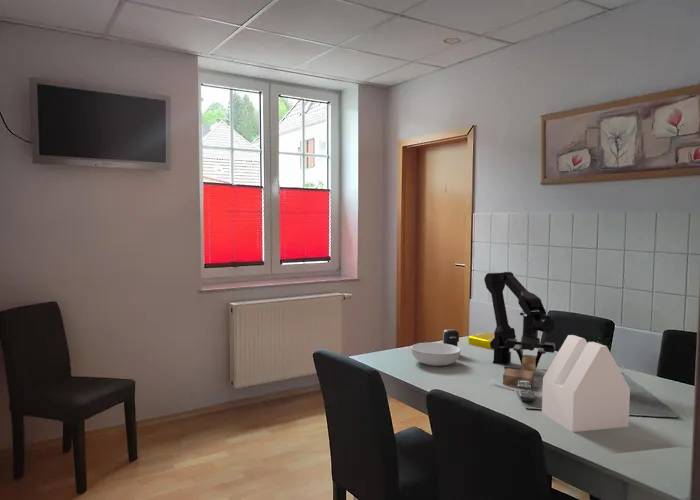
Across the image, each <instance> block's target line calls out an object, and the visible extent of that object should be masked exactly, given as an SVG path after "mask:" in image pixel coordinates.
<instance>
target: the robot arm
mask: <svg viewBox="0 0 700 500" xmlns="http://www.w3.org/2000/svg"><path fill="white" fill-rule="evenodd" d="M483 279H484V284H485V288H486V289H487V291H488V292H489V293H490V295H491V296H490V297H491V300H492V306H493V312H494V318H495V323H496V327H495V330H494V332H493V334H494V339H493V340H492V341H491V342H490V347H491V348H493V349H492V350H493V360H492V363H493V364H499V365H509V364H510V363H511V362H512V351H510V350H512V349H513V351H515V352H516V353H517V355H518V358H519V362H520V365H521V366H522V357H523V355H524V351H525V350H528V351H530V352H531V351H534V350H535V349H537V351H536V353H537V354H536V356H537V359H536V367H538V365H539V362H540V360H541V357H542V355H543V354H546V353H551V354H552V353H553V354H554V353H555V351H556V343H555V342H548V341H545V342H544V343H541V340H540V339H541V338H540V337H539V336H538V335H539V332H542V333H545V334H550V333H552V332H553V330H555V323H554V320H553V319H552V318H551V315H549V314H547V311H546V309H545V307H544V304H543V302H542V299H541V298H540V297H539V296H538V295H537V294H535V293H533V292H530V291H529V290H527V288H525V287H524V285H523V284H522V283H521V282H520V281H519V280H518V278H516V276H515V275H514V273H513V272H511V271H502V272H487V273H486V275H485V276H484V278H483ZM505 287H507V288H508V289H509V290H510V291H511V293H512V294H513V295H514V296H515V297H516V298H517V299H518V301H517V302H518V305H519V307H520V308H521V310H522V311H521V312H520V313H519V315H520V316H522V317H523V318H522V336H521V341H518V339H517V336H516V330H515V328H514V327H511V325H509V320H508V314H507V309H506V303H505V297H504V290H505Z"/></svg>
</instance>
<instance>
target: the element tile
mask: <svg viewBox="0 0 700 500" xmlns="http://www.w3.org/2000/svg"><path fill="white" fill-rule="evenodd" d="M493 339H494V333H490V332H481V333H476V334H473V335H469V336H468V342H467V343H468V345H471V346H475V347H480V348H482V349H483V348H484V349H488V350H494V349H493V348H491V347H490V342H491V341H492V340H493Z"/></svg>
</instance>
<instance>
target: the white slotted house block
mask: <svg viewBox="0 0 700 500" xmlns="http://www.w3.org/2000/svg"><path fill="white" fill-rule="evenodd" d="M541 394H542V396H541V397H542V399H541V414H543V415H544V416H546V417H548V418H549V419H551V420H553V421H554V422H556V423H557V424H559V425H560V426H563V428H565V429H567V430H568V431H570V432H572V433H574V432H586V431H587V432H588V431H597V430H607V429H619V428H629V427H630V425H629V420H630V400H631V399H630V398H631V389H630V386H629V385H628V383H627V381H626V379H625V377H624V375H623V374H622V372H621V369H620V368H619V366H618V365H617V363H616V361H615V359H614V357H613V355H612V354H611V352H610V350H609V348H608V346H607V345H605V344H604V345H603V344H602V343H598V342H595V341H588V342H587V339H585V338H584V337H580V336H578V335H575V334H568V335H567V336H566V338H565V339H564V342H563V343H562V345H561V347H559V350H558V352H557V353H556V354H555V357H554V358H553V360H552V362H551V363H550V365H549V367H548V368H547V370H546V372H545V374H544V376H543V377H542V393H541Z"/></svg>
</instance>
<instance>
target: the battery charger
mask: <svg viewBox="0 0 700 500" xmlns="http://www.w3.org/2000/svg"><path fill="white" fill-rule="evenodd" d="M458 342H460V333H459V331H458V330H456V329H444V330H443V333H442V343H444V344H450V345H454V346H456V347H458Z"/></svg>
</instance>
